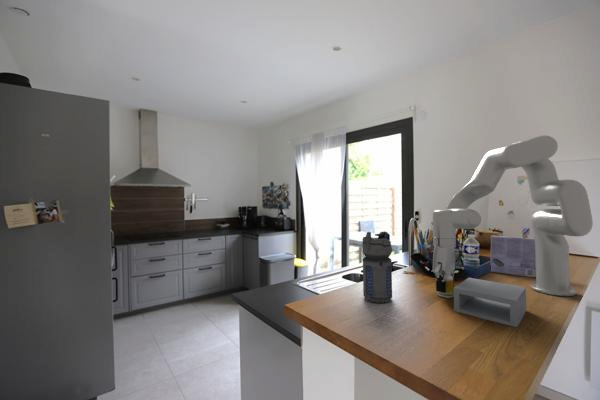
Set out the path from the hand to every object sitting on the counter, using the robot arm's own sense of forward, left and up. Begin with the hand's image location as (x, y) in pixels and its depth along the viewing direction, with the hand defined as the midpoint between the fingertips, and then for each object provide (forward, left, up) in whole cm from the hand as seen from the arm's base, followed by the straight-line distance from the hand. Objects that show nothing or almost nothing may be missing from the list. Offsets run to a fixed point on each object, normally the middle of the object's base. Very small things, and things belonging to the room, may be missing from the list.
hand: (445, 288), depth 100 cm
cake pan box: (-52, +13, -3) cm, 54 cm away
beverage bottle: (+20, -16, -3) cm, 26 cm away
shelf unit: (+5, +15, -3) cm, 16 cm away
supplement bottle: (0, 0, -3) cm, 3 cm away
